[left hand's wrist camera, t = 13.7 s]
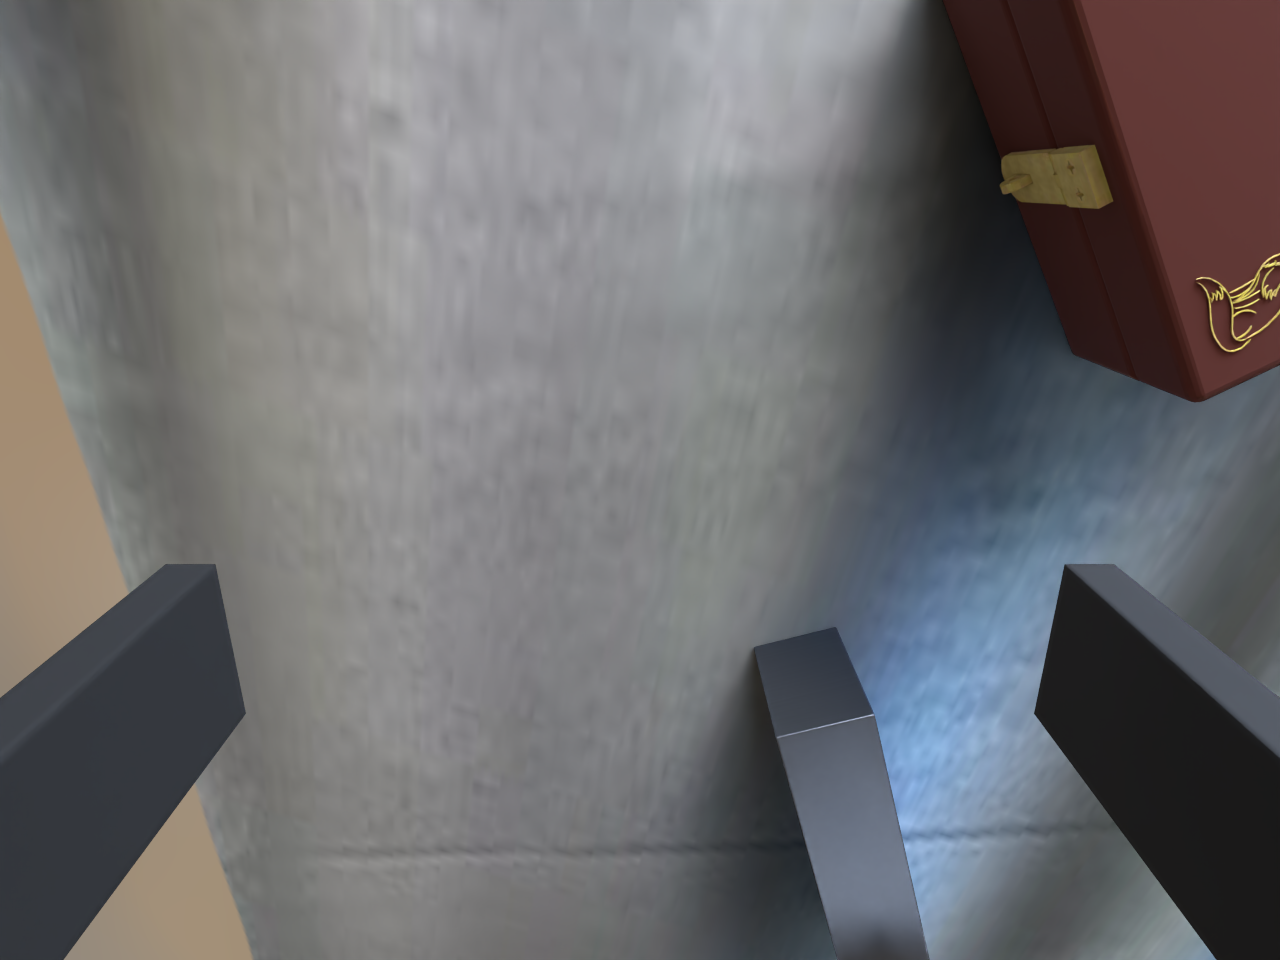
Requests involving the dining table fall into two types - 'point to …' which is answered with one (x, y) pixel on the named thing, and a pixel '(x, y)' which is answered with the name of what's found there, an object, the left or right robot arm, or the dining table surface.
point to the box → (1143, 174)
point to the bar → (842, 797)
